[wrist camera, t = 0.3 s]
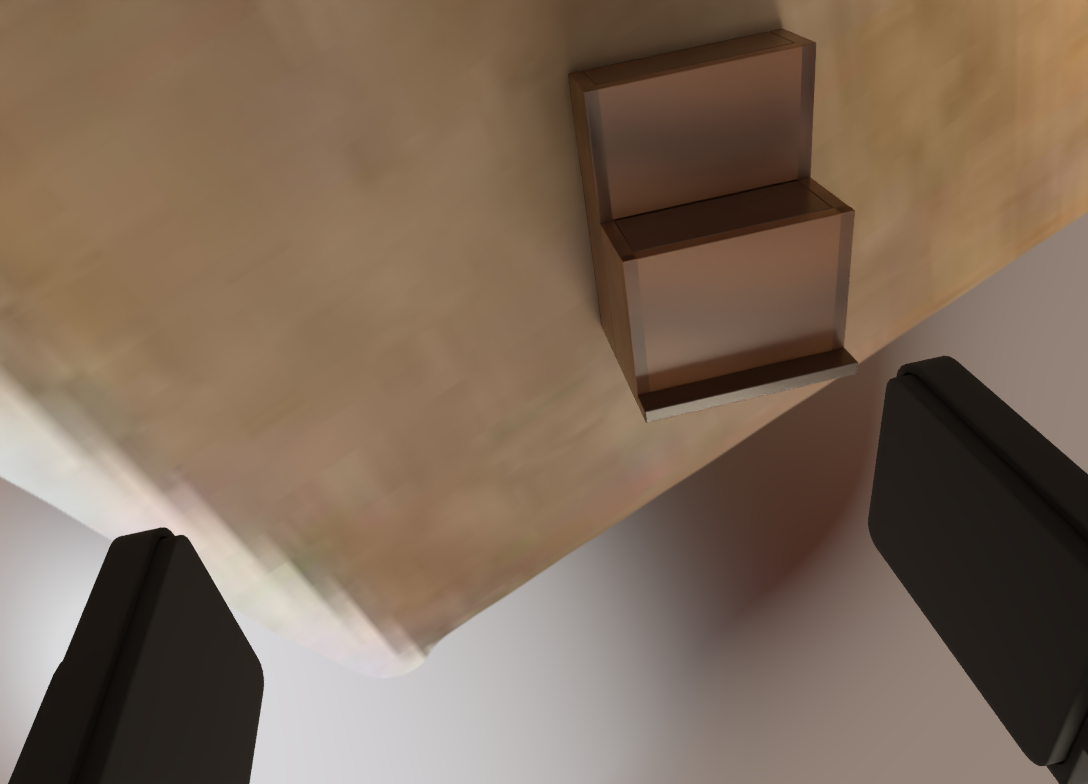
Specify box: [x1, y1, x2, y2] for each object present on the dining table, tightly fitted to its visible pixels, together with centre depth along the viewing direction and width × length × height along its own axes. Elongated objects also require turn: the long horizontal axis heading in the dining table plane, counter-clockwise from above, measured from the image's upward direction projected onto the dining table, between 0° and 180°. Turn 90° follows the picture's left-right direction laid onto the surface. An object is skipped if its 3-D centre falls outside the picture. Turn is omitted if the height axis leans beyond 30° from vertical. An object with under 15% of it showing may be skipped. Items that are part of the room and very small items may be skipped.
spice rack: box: [568, 29, 858, 422], centre depth 42 cm, size 16×12×11 cm
